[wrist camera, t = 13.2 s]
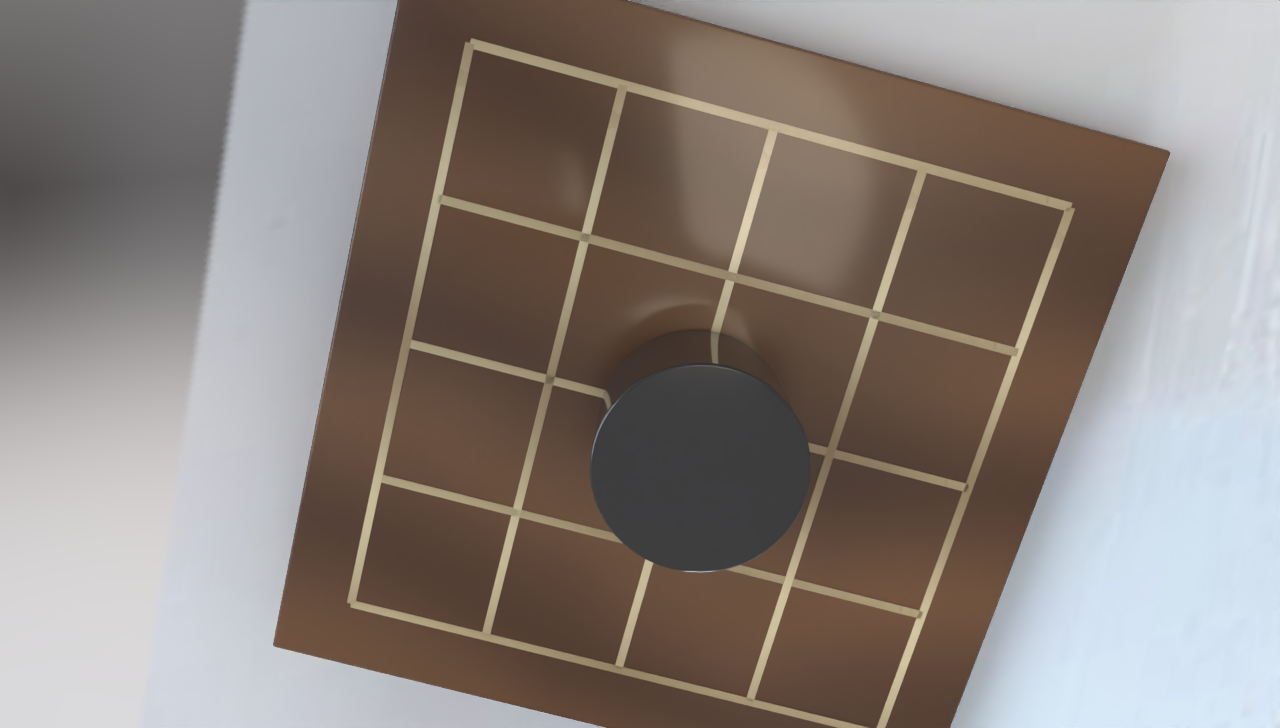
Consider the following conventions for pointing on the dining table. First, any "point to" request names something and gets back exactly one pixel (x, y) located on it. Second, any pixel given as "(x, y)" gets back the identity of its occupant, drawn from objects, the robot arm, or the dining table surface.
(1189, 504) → the dining table surface
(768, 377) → the dark grey puck
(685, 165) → the board
